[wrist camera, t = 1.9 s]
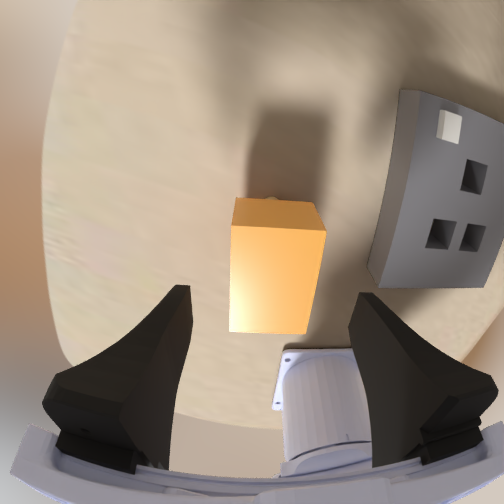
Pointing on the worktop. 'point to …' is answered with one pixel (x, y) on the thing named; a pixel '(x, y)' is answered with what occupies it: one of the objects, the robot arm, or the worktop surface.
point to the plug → (274, 264)
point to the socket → (440, 197)
